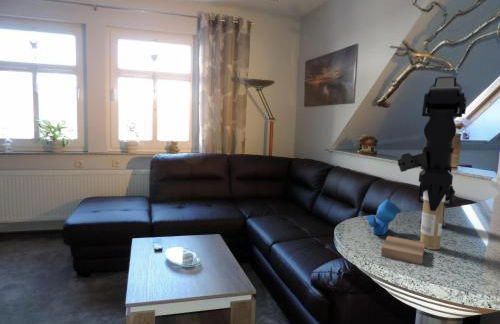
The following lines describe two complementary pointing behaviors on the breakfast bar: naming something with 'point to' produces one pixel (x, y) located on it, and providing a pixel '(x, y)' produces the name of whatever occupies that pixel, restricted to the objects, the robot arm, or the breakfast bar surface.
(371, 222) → the blue figurine
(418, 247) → the wooden block
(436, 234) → the sprinkles bottle
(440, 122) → the robot arm
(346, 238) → the breakfast bar surface
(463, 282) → the breakfast bar surface
